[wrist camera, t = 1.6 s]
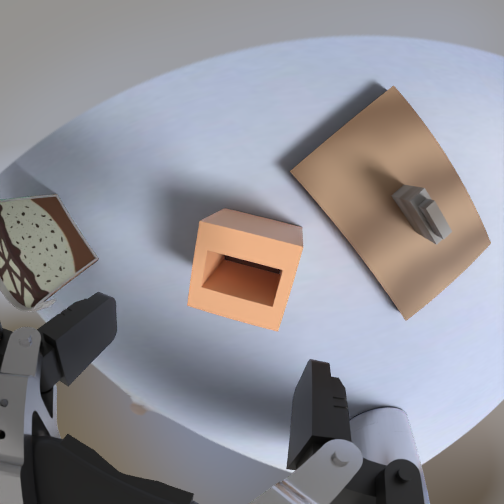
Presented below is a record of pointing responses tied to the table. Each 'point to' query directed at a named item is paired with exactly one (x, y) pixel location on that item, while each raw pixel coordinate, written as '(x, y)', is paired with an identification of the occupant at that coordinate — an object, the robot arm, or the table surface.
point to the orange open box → (244, 267)
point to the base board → (396, 201)
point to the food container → (39, 250)
